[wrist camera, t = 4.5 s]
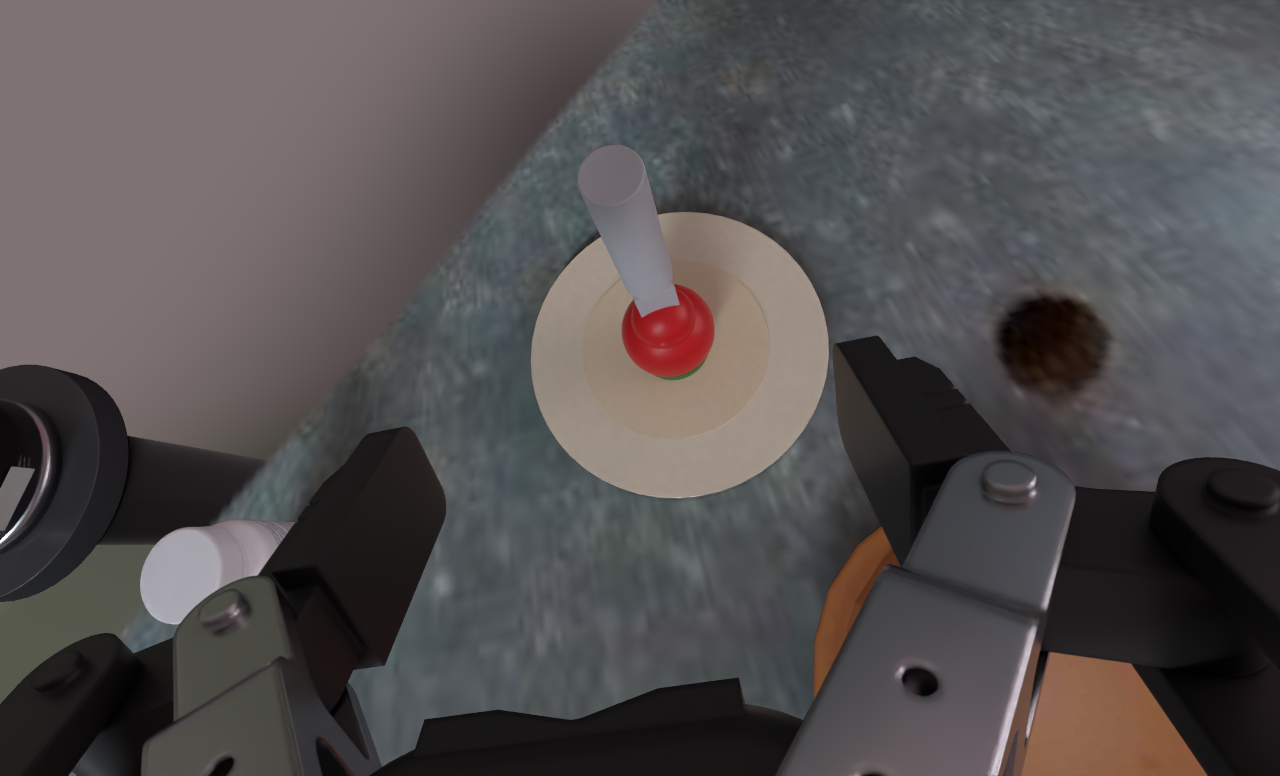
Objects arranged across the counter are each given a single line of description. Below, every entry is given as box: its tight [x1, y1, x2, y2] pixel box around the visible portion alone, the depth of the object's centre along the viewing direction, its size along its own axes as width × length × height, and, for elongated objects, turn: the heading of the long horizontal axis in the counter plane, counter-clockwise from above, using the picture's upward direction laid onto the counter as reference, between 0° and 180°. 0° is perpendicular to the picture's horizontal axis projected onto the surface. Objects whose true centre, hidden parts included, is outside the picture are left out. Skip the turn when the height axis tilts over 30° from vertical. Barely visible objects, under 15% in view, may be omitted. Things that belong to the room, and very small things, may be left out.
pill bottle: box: [140, 520, 297, 624], centre depth 30 cm, size 5×5×8 cm
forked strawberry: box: [577, 145, 715, 380], centre depth 25 cm, size 5×5×16 cm
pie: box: [813, 526, 1208, 776], centre depth 25 cm, size 15×16×5 cm
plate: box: [531, 212, 829, 499], centre depth 33 cm, size 16×16×1 cm
